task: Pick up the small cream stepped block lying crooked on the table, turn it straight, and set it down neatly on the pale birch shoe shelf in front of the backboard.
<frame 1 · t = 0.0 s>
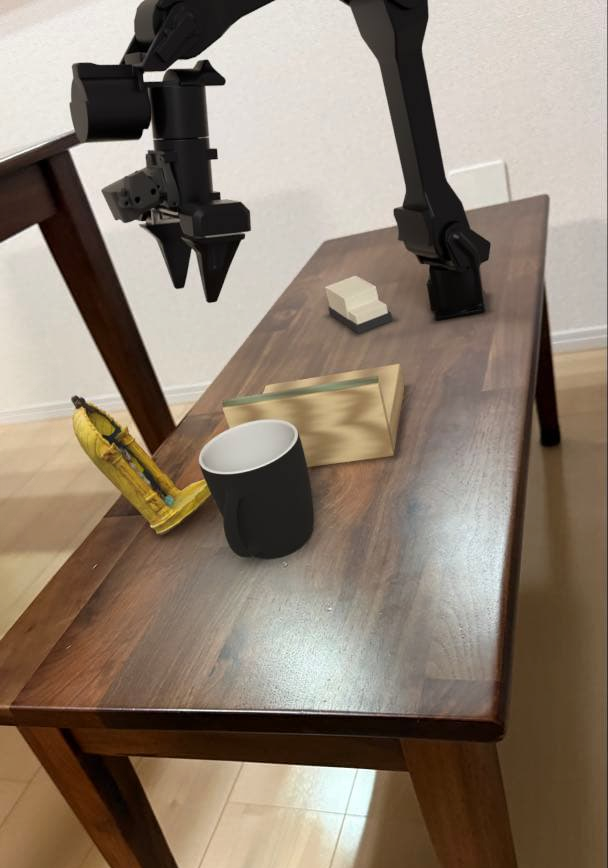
hand: (194, 295, 93), 15 cm above the bench, tool pointing down, fingers open, 9 cm apart
mug: (273, 550, 77), on the bench
shrine: (173, 526, 85), on the bench
cream stepped block: (360, 317, 118), on the bench
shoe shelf: (328, 426, 93), on the bench
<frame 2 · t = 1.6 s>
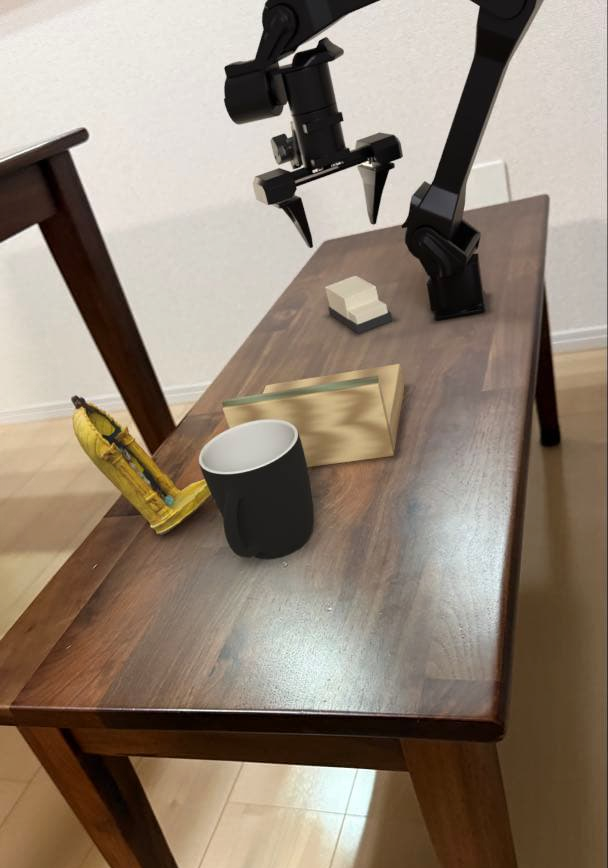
hand: (342, 235, 111), 12 cm above the bench, tool pointing down, fingers open, 9 cm apart
nothing on the bench moved.
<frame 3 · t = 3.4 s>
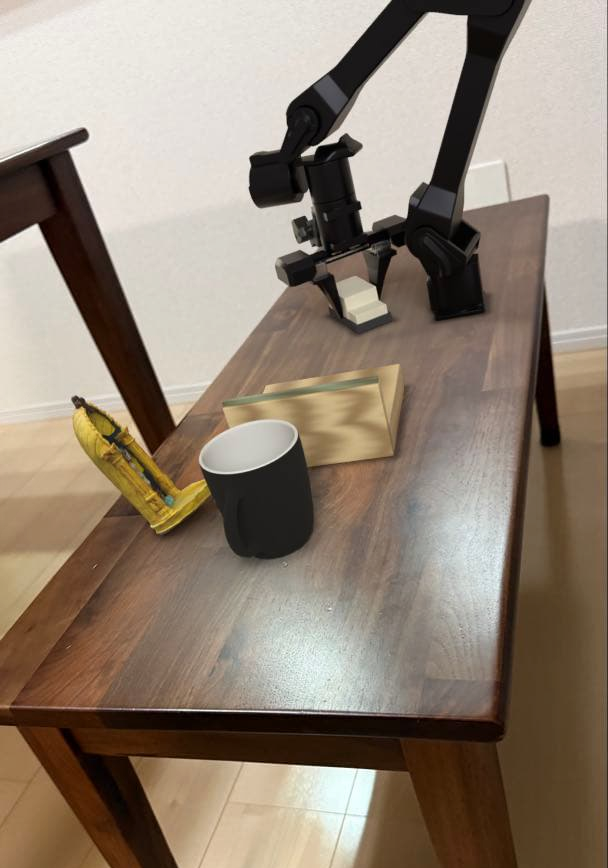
hand: (358, 310, 117), 1 cm above the bench, tool pointing down, fingers closed on cream stepped block, 5 cm apart
cream stepped block: (360, 317, 118), on the bench, touching gripper
everything else where it was.
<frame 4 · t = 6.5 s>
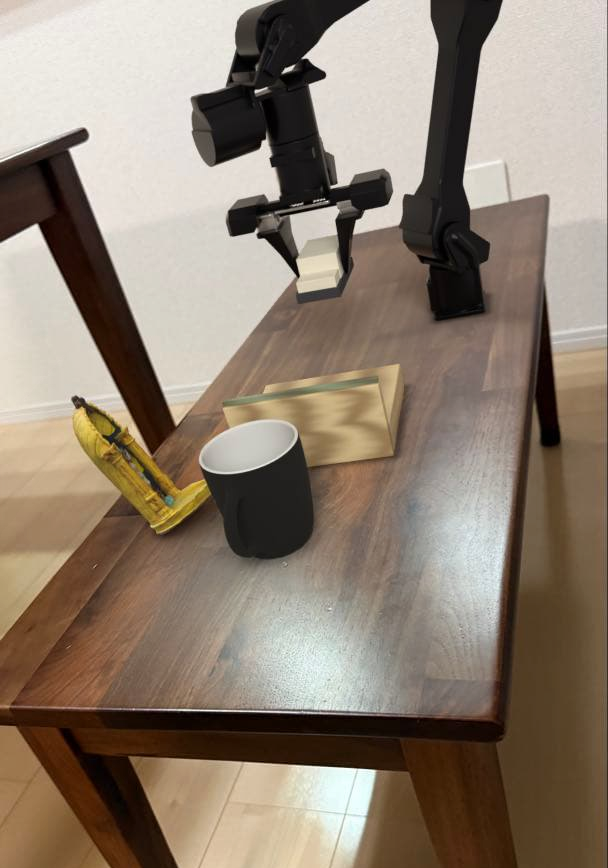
hand: (325, 276, 100), 11 cm above the bench, tool pointing down, fingers closed on cream stepped block, 5 cm apart
cream stepped block: (327, 284, 101), point 10 cm above the bench, touching gripper
everything else where it was.
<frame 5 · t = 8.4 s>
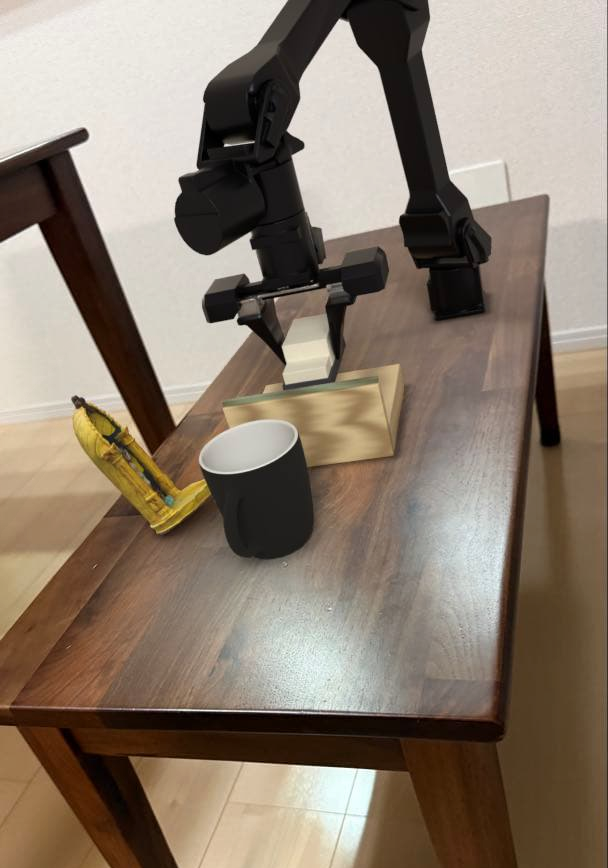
hand: (314, 362, 90), 7 cm above the bench, tool pointing down, fingers closed on cream stepped block, 5 cm apart
cream stepped block: (316, 370, 91), point 6 cm above the bench, touching gripper
everything else where it was.
when the fingers open (4 cm above the bench, at t = 9.8 s): cream stepped block stays where it is, resting on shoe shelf.
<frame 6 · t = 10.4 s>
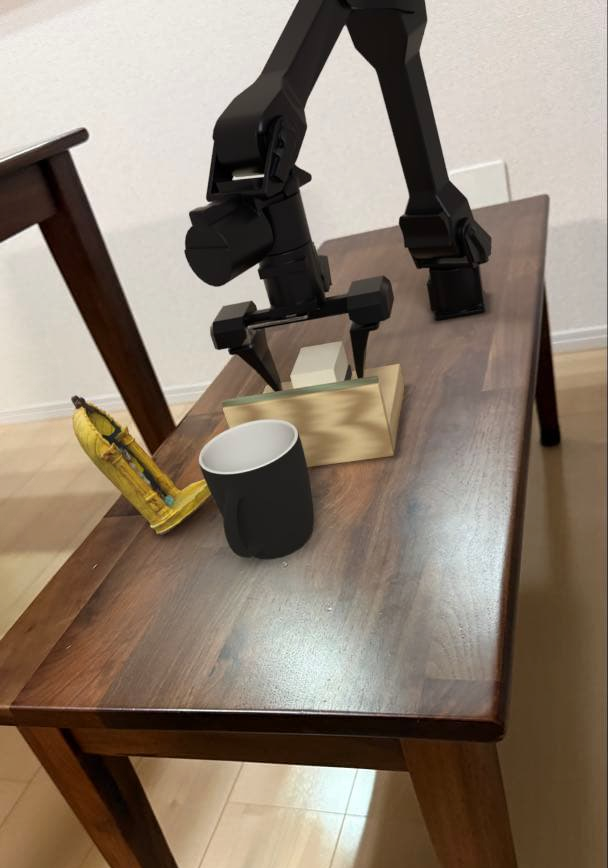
hand: (320, 387, 92), 4 cm above the bench, tool pointing down, fingers open, 9 cm apart
cream stepped block: (323, 398, 93), point 3 cm above the bench, touching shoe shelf
everything else where it was.
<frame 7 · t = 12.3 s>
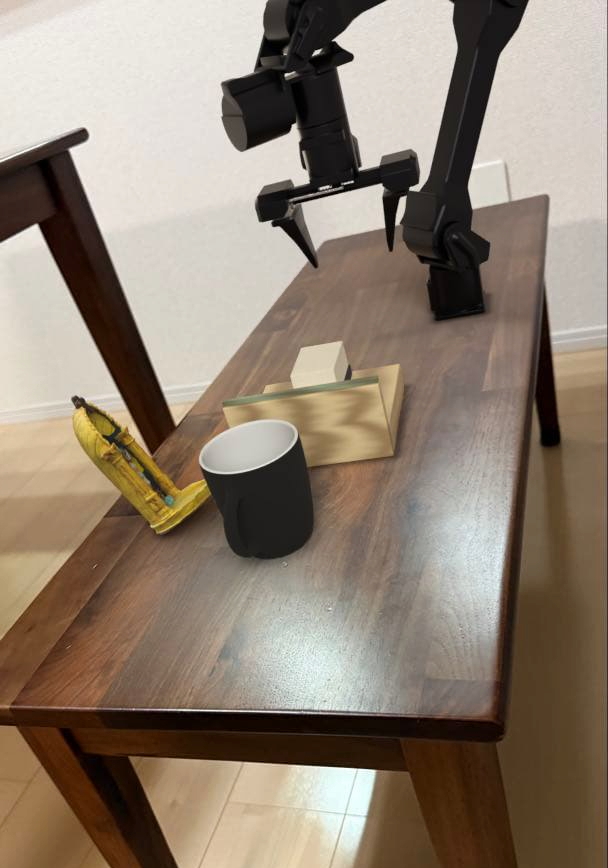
hand: (353, 259, 101), 12 cm above the bench, tool pointing down, fingers open, 9 cm apart
nothing on the bench moved.
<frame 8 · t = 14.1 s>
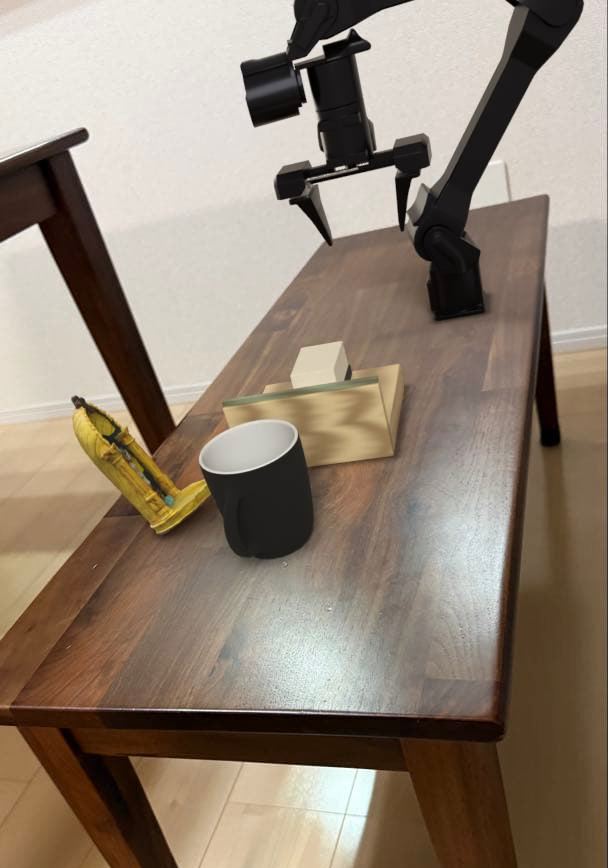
hand: (366, 238, 106), 12 cm above the bench, tool pointing down, fingers open, 9 cm apart
nothing on the bench moved.
at the end: cream stepped block inside the target area on the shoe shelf (1.1 cm from its centre), point 3.0 cm above the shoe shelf's base; cream stepped block tilted 0° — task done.
